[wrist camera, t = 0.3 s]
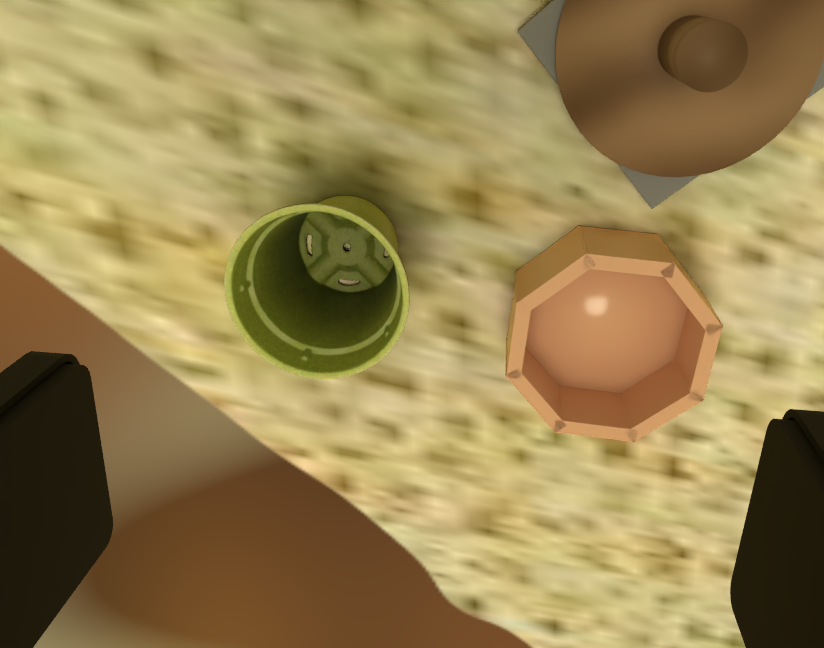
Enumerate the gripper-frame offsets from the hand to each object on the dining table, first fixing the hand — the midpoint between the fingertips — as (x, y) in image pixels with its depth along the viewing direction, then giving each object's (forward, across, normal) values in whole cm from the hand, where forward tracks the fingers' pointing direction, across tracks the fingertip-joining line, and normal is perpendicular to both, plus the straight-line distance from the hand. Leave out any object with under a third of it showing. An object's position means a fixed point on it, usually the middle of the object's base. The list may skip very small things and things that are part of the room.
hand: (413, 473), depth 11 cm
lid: (+34, -10, -4) cm, 36 cm away
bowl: (+35, -8, +12) cm, 38 cm away
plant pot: (+36, +8, +8) cm, 37 cm away
